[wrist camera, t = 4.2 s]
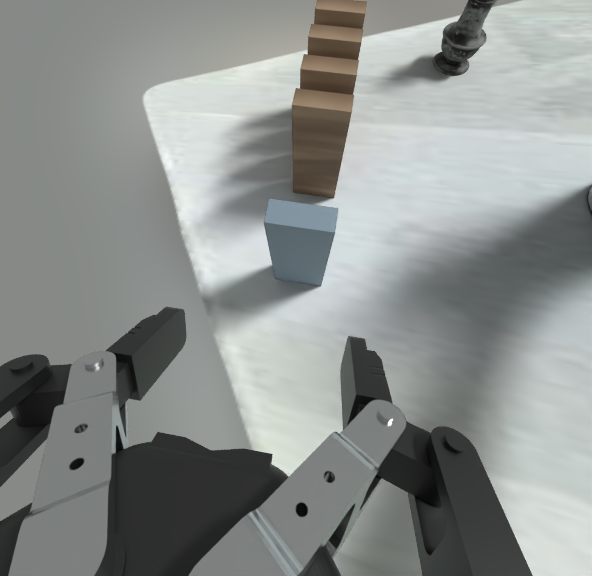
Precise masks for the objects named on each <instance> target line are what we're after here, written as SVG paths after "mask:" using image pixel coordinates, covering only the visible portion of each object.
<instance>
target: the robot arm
mask: <svg viewBox="0 0 592 576" xmlns="http://www.w3.org/2000/svg"><path fill="white" fill-rule="evenodd" d="M588 201H589V205H590V208H591V211H592V187H591V189H590V191H589V195H588ZM185 341H186V324H185V313H184V310H183V309H178V308H172V307H165V308H164V309H163V310H162V311H160V312H159V313H158V314H157V315H153V316H150V317H148V318H146V319H144V320H142V321H141V322H140V323H138V324H137V325H136V326H135V328H132V329H131V330H130V331H129V332H128V333H126V334H125V335H124V336H123V337H121V338H120V339H119V340H118V341H117V342H115V343H114V344H113V345H112V346H111V347H109V348H108V349H107V350H106V351H98V352H93V353H90V354H87V355H84V356H83V357H80V358H79V359H77V360H76V361H75V362H74V363H73V364H68V365H52V366H50V363H49V360H48V358H47V357H46V356H44V355H37V354H35V355H27V356H22V357H19V358H16V359H13V360H11V361H9V362H7V363H5V364H4V365H2V366H1V367H0V418H1V417H2V416H3V415H5V414H6V413H7V412H8V411H11V413H12V415H13V417H14V418H13V419H12V420H10V421H9V422H8V423H7V424H6V425H4V426H3V427H2V428H1V429H0V487H1V486H2V485H3V484H4V483H5V482H6V480H7V479H8V478H9V477H10V476H11V475H12V474H13V473H14V472H15V471H16V470H17V469H18V468H19V467H20V466H21V465H22V464H23V463H24V462H25V461H26V460H27V459H28V458H29V456H31V455H32V453H33V452H34V451H35V450H36V449H37V448H38V447H39V446H40V445H41V444H42V443H43V442H44V441H45V440H46V439H47V442H46V447H45V451H44V455H43V460H42V464H41V469H40V473H39V477H38V481H37V486H36V490H35V494H34V499H33V502H32V503H31V504H29V505H27V506H26V507H24V508H22V509H20V510H19V511H17V512H16V513H14V514H12V515H10V516H9V517H7V518H5V519H4V520H2V521H0V576H341V575H340V573H339V571H338V569H337V567H336V565H335V563H334V561H333V559H334V557H335V556H336V554H337V553H338V551H339V549H340V548H341V546H342V545H343V543H344V542H345V540H346V538H347V537H348V535H349V533H350V531H351V529H352V527H353V525H354V524H355V522H356V520H357V518H358V517H359V515H360V513H361V512H362V510H363V509H364V507H365V506H366V504H367V503H368V501H369V499H370V498H371V496H372V495H373V493H374V492H375V490H376V489H377V487H378V485H379V484H380V482H381V481H382V479H384V480H386V481H388V482H390V483H392V484H394V485H395V486H397V487H399V488H401V489H403V490H405V491H406V492H408V497H409V502H410V508H411V513H412V519H413V524H414V530H415V535H416V541H417V546H418V552H419V557H420V563H421V568H422V574H423V576H532V573H531V571H530V569H529V567H528V565H527V562H526V560H525V558H524V556H523V553H522V551H521V549H520V547H519V544H518V542H517V540H516V538H515V536H514V533H513V531H512V529H511V527H510V524H509V522H508V520H507V518H506V516H505V513H504V511H503V509H502V507H501V504H500V502H499V500H498V498H497V495H496V493H495V491H494V489H493V487H492V484H491V482H490V480H489V478H488V475H487V473H486V471H485V469H484V467H483V464H482V462H481V460H480V458H479V455H478V453H477V451H476V449H475V447H474V446H473V444H472V443H471V442H470V441H469V440H468V439H467V438H466V437H465V436H464V435H462V434H461V433H459V432H458V431H456V430H454V429H451V428H448V427H437V428H435V429H434V430H433V431H432V433H430V432H427V431H425V430H423V429H421V428H419V427H416V426H414V425H412V424H410V423H409V422H407V421H406V419H405V416H404V414H403V413H402V412H401V410H400V409H399V408H398V407H396V406H395V405H394V404H393V403H392V399H391V395H390V391H389V387H388V384H387V380H386V377H385V372H384V370H383V364H382V360H381V359H380V357H379V356H378V355H377V353H376V352H375V351H370V350H367V347H366V342H365V339H363V338H357V337H351V336H349V337H348V339H347V343H346V347H345V351H344V355H343V359H342V364H341V396H342V417H343V431H342V432H341V433H340V434H338V433H337V432H333V433H332V434H331V435H330V436H329V437H328V438H327V439H326V440H325V441H324V442H323V443H322V444H321V445H320V446H319V447H318V448H317V449H316V450H315V451H314V452H313V453H312V454H311V455H310V456H309V457H308V458H307V459H306V460H305V461H304V462H303V463H302V464H301V465H300V466H299V467H298V468H297V469H296V470H295V471H294V472H293V473H292V474H291V475H290V476H289V477H288V476H287V475H286V474H285V473H284V472H283V471H282V470H280V469H279V468H277V467H275V466H274V465H272V464H271V462H272V454H269V453H264V452H259V451H253V450H248V449H231V450H215V451H212V450H209V449H207V448H205V447H203V446H201V445H199V444H197V443H195V442H193V441H191V440H189V439H187V438H185V437H181V436H175V435H170V434H165V433H160V432H158V433H157V434H156V436H155V437H154V439H153V440H152V442H146V443H141V444H137V445H134V446H131V447H129V444H128V419H127V418H128V417H127V405H126V401H127V400H128V399H129V398H130V399H134V400H141V399H142V398H143V396H144V395H145V394H146V393H147V392H148V390H149V389H150V388H151V386H152V385H153V384H154V383H155V382H156V380H157V379H158V378H159V377H160V375H161V374H162V373H163V372H164V370H165V369H166V368H167V367H168V365H169V364H170V363H171V362H172V360H173V359H174V358H175V357H176V356H177V354H178V353H179V352H180V351H181V349H182V348H183V346H184V344H185Z"/></svg>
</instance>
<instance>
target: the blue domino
mask: <svg viewBox="0 0 592 576" xmlns="http://www.w3.org/2000/svg"><path fill="white" fill-rule="evenodd" d="M337 214H338V208H333V207H326V206H319V205H312V204H304V203H297V202H290V201H283V200H276V199H269V202H268V206H267V210H266V215H265V219H264V226H265V231H266V236H267V241H268V246H269V250H270V255H271V260H272V265H273V270H274V275H275V279H280V280H286V281H292V282H299V283H305V284H311V285H318V286H321V284H322V280H323V276H324V273H325V269H326V265H327V261H328V257H329V254H330V250H331V246H332V242H333V238H334V234H335V229H336V221H337Z"/></svg>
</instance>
